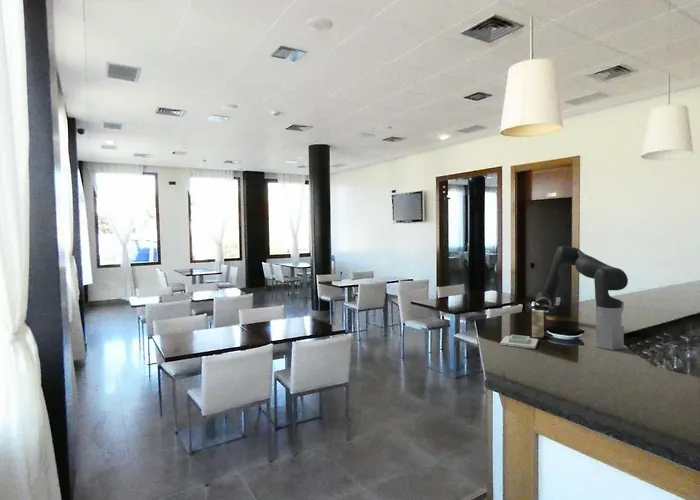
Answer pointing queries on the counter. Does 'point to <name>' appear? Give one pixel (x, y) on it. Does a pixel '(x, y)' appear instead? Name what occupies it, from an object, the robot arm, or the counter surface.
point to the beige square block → (538, 323)
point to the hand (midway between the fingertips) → (539, 310)
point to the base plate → (519, 341)
